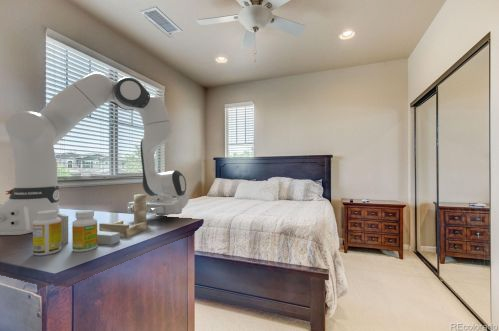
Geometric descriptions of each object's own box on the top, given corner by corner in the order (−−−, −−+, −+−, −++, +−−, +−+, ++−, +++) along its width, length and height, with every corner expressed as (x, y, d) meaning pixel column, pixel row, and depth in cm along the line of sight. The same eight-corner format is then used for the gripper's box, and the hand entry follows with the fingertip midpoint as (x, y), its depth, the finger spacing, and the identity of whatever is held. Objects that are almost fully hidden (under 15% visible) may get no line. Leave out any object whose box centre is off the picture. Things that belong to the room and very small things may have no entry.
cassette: (48, 237, 75) (47, 212, 75) (55, 236, 76) (55, 211, 76) (62, 244, 68) (62, 216, 68) (70, 243, 69) (70, 215, 69)
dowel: (132, 227, 85) (132, 195, 85) (135, 225, 89) (135, 194, 89) (145, 227, 86) (144, 195, 86) (147, 224, 90) (147, 194, 90)
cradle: (120, 227, 86) (120, 217, 86) (146, 229, 83) (146, 219, 83) (99, 235, 77) (99, 223, 77) (126, 237, 74) (126, 225, 74)
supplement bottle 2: (85, 253, 61) (84, 213, 61) (66, 251, 62) (66, 212, 62) (102, 246, 66) (102, 209, 66) (85, 244, 67) (85, 209, 67)
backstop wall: (85, 238, 73) (85, 230, 73) (119, 241, 70) (119, 232, 70) (75, 241, 70) (75, 232, 70) (111, 244, 67) (111, 235, 67)
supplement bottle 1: (63, 247, 66) (63, 208, 66) (59, 253, 61) (59, 211, 61) (36, 250, 63) (35, 210, 63) (30, 258, 58) (29, 214, 58)
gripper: (140, 196, 104) (115, 200, 91) (185, 197, 99) (165, 202, 86) (140, 211, 104) (115, 218, 91) (185, 213, 99) (165, 221, 86)
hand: (140, 210), depth 88 cm, fingers open, 8 cm apart
